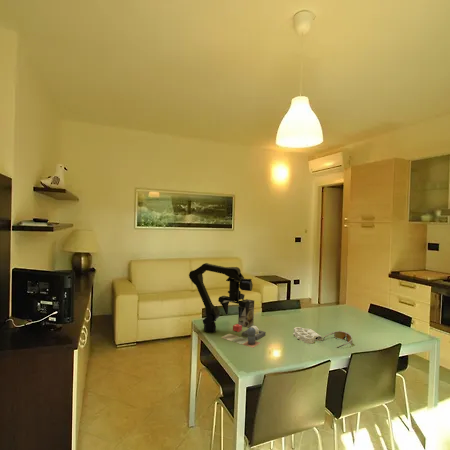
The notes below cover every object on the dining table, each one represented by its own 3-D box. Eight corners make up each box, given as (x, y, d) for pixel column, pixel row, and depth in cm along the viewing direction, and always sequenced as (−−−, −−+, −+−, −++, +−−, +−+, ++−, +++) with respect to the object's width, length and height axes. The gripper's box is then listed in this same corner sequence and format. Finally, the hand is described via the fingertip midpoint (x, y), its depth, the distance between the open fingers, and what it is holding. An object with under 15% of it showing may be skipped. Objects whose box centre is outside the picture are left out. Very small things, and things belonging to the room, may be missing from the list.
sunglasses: (357, 344, 173) (356, 336, 173) (338, 353, 166) (338, 344, 166) (337, 336, 186) (336, 328, 185) (319, 343, 179) (318, 335, 178)
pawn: (245, 343, 166) (245, 327, 166) (250, 341, 170) (249, 325, 170) (253, 345, 164) (253, 329, 164) (257, 342, 167) (257, 327, 168)
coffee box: (246, 328, 193) (247, 303, 193) (237, 326, 197) (238, 301, 196) (253, 325, 200) (254, 300, 200) (245, 322, 204) (246, 298, 204)
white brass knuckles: (325, 343, 175) (301, 344, 172) (310, 332, 192) (288, 333, 189) (325, 337, 175) (301, 338, 172) (310, 326, 192) (288, 327, 189)
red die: (232, 332, 186) (232, 325, 186) (236, 330, 189) (236, 323, 189) (238, 333, 184) (238, 326, 184) (241, 331, 187) (242, 325, 187)
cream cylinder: (246, 336, 178) (246, 326, 178) (251, 333, 183) (252, 323, 183) (255, 338, 175) (255, 328, 175) (260, 335, 180) (261, 325, 179)
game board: (219, 339, 174) (219, 337, 173) (229, 334, 182) (229, 332, 182) (252, 350, 161) (252, 348, 161) (262, 344, 169) (262, 342, 169)
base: (241, 337, 178) (241, 332, 178) (250, 332, 186) (250, 328, 186) (256, 342, 172) (256, 336, 172) (265, 337, 180) (265, 331, 180)
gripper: (255, 289, 180) (254, 316, 180) (229, 284, 191) (228, 309, 191) (245, 292, 171) (244, 320, 171) (218, 287, 182) (217, 313, 182)
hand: (233, 316), depth 179 cm, fingers open, 9 cm apart
